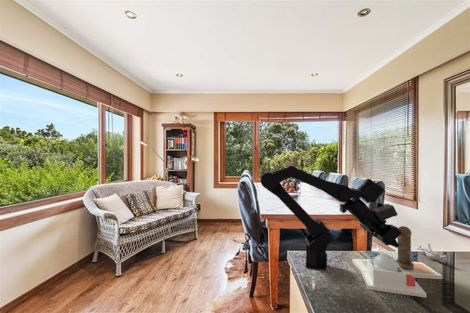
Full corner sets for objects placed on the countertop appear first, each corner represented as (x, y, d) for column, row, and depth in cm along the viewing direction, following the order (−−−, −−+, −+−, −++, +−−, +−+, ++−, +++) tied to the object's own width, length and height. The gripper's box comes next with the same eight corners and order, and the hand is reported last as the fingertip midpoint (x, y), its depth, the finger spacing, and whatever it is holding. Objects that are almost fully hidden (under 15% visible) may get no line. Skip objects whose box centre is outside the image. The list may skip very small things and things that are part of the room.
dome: (376, 278, 69) (376, 257, 69) (371, 269, 75) (371, 250, 75) (400, 281, 67) (400, 260, 67) (393, 272, 73) (393, 252, 73)
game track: (363, 274, 77) (363, 271, 77) (352, 261, 87) (352, 258, 87) (442, 279, 74) (442, 275, 74) (421, 265, 84) (421, 262, 84)
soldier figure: (432, 256, 94) (461, 258, 83) (426, 266, 93) (454, 269, 82) (415, 241, 96) (441, 241, 85) (409, 251, 95) (434, 252, 83)
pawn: (400, 268, 78) (400, 228, 78) (392, 262, 83) (392, 224, 83) (417, 269, 77) (416, 228, 78) (408, 263, 82) (407, 224, 83)
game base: (368, 289, 68) (367, 269, 68) (361, 274, 77) (361, 257, 77) (426, 297, 64) (426, 276, 64) (413, 281, 73) (412, 263, 73)
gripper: (394, 200, 72) (435, 239, 71) (368, 192, 91) (400, 222, 89) (366, 226, 73) (406, 264, 72) (346, 213, 92) (378, 243, 90)
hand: (397, 246), depth 81 cm, fingers closed, pressing on pawn
